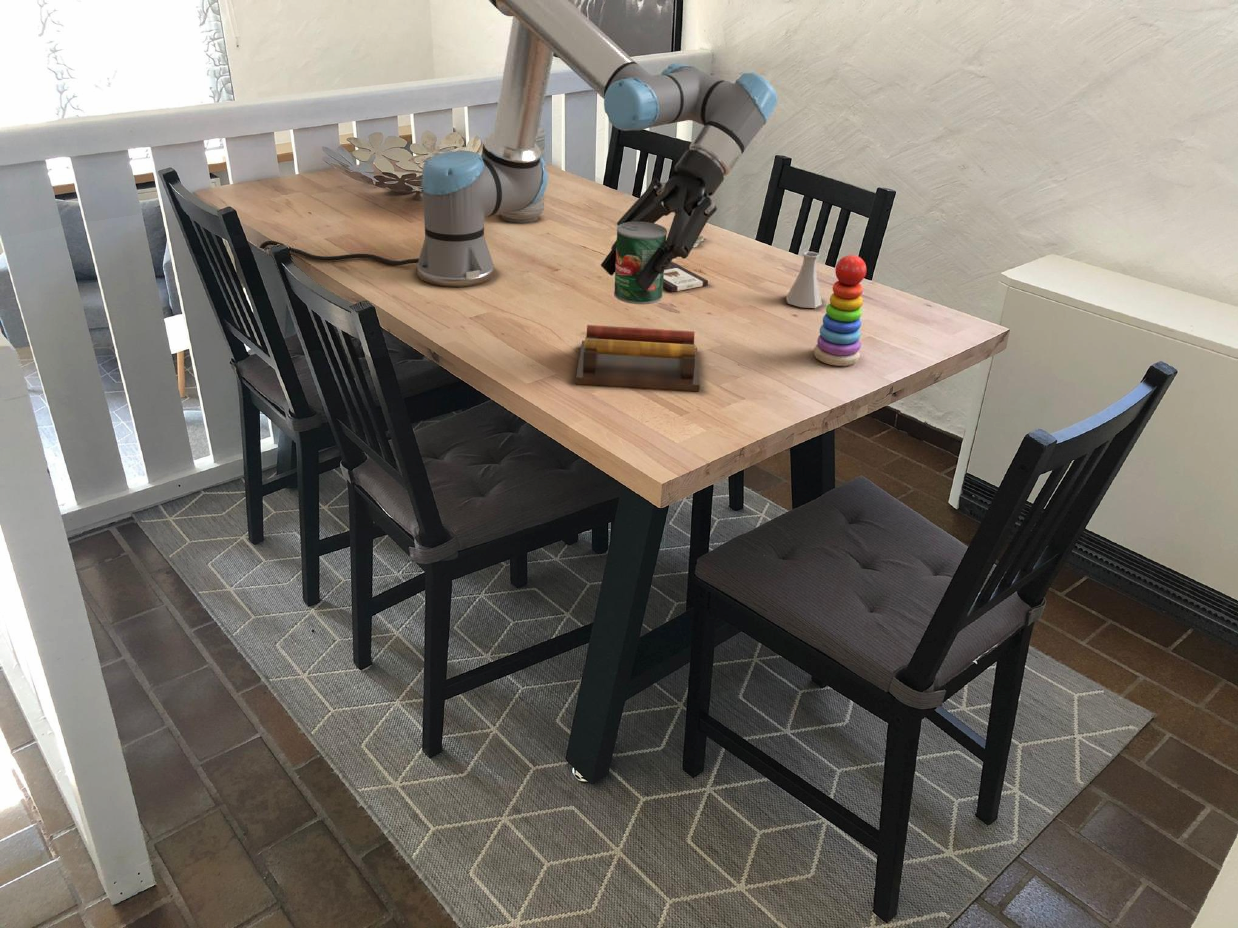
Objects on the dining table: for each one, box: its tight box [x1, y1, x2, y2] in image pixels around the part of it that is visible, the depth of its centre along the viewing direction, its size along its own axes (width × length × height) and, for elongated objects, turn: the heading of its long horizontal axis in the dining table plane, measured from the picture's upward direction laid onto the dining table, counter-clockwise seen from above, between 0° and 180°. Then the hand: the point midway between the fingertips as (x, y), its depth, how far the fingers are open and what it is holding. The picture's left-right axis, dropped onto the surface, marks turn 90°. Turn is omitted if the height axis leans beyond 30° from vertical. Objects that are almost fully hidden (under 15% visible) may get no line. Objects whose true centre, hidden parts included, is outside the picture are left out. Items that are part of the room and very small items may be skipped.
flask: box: [785, 250, 823, 309], centre depth 194 cm, size 7×7×10 cm
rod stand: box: [575, 324, 701, 392], centre depth 164 cm, size 20×15×6 cm
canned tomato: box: [613, 222, 668, 305], centre depth 157 cm, size 8×8×11 cm
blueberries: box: [693, 234, 707, 248], centre depth 225 cm, size 7×8×2 cm
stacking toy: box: [813, 254, 867, 367], centre depth 168 cm, size 8×8×19 cm
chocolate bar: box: [663, 260, 709, 293], centre depth 205 cm, size 9×1×18 cm
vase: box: [499, 124, 546, 224], centre depth 229 cm, size 12×12×23 cm
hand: (623, 278), depth 156 cm, fingers closed on canned tomato, 8 cm apart
